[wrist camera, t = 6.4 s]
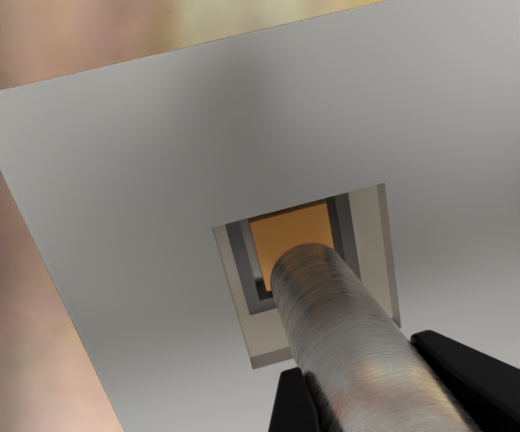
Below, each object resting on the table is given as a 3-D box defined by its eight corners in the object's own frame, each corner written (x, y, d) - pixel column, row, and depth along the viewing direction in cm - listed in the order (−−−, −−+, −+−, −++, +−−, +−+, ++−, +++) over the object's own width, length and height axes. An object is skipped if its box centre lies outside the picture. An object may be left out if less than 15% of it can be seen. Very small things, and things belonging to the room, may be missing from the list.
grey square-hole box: (426, 8, 14) (537, -35, 9) (446, 317, 19) (527, 394, 14) (52, 96, 13) (-34, 98, 8) (171, 395, 18) (158, 504, 13)
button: (315, 193, 14) (326, 203, 13) (327, 256, 15) (338, 271, 14) (245, 211, 14) (249, 223, 13) (261, 274, 15) (266, 291, 14)
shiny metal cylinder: (339, 233, 11) (1036, 973, 2) (350, 301, 12) (871, 1056, 3) (262, 254, 11) (576, 1165, 2) (278, 320, 12) (553, 1191, 2)
